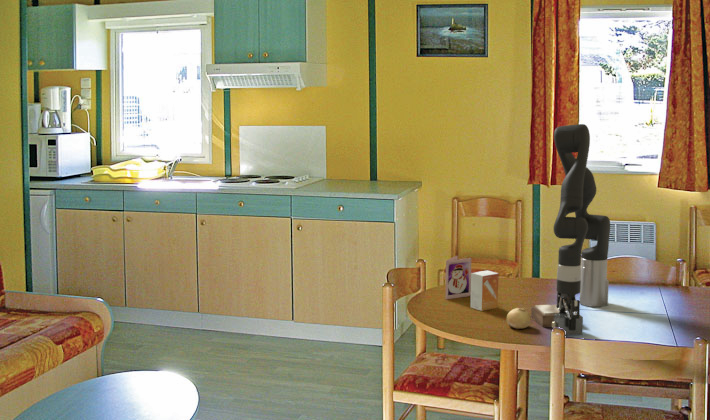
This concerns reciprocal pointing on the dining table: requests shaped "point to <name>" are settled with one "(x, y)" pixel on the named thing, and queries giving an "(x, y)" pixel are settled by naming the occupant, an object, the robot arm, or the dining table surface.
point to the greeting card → (458, 277)
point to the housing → (563, 321)
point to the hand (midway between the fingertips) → (567, 326)
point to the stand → (544, 314)
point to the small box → (484, 290)
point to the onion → (518, 318)
